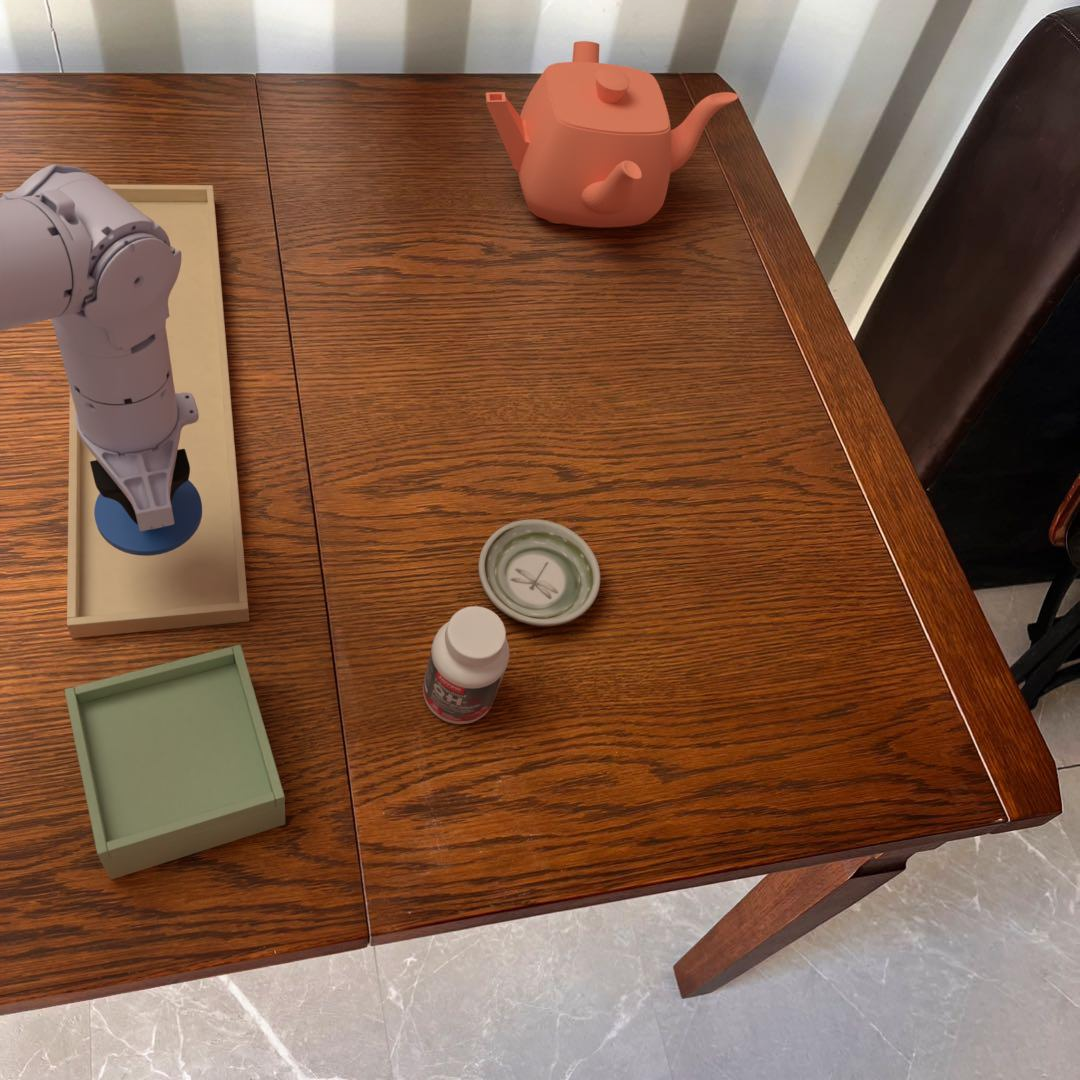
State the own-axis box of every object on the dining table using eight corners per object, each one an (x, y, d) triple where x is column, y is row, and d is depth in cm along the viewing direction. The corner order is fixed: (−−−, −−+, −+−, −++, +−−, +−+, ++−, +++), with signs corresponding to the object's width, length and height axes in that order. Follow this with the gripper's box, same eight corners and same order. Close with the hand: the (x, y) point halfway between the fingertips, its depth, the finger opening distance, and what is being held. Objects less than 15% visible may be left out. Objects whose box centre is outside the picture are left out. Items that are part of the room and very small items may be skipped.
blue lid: (106, 566, 72) (95, 529, 68) (86, 483, 75) (75, 442, 72) (213, 542, 75) (208, 505, 71) (189, 463, 78) (184, 423, 74)
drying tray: (249, 621, 80) (248, 608, 78) (71, 638, 77) (66, 625, 75) (214, 201, 103) (212, 184, 101) (75, 201, 99) (72, 183, 98)
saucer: (605, 554, 89) (612, 538, 87) (579, 654, 84) (586, 640, 82) (493, 519, 89) (497, 502, 87) (460, 616, 84) (464, 601, 82)
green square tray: (110, 880, 69) (97, 854, 64) (78, 723, 74) (63, 688, 69) (285, 824, 73) (284, 796, 68) (243, 678, 78) (240, 643, 73)
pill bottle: (421, 725, 78) (435, 665, 70) (422, 658, 81) (436, 593, 73) (495, 728, 79) (518, 669, 71) (494, 661, 82) (515, 598, 74)
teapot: (699, 201, 116) (743, 87, 105) (603, 284, 107) (640, 169, 95) (564, 115, 120) (593, -4, 109) (460, 188, 110) (479, 66, 99)
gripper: (219, 451, 61) (231, 574, 72) (163, 268, 67) (182, 408, 78) (86, 477, 58) (120, 600, 69) (41, 284, 65) (79, 426, 76)
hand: (146, 500), depth 74 cm, fingers closed on blue lid, 2 cm apart
